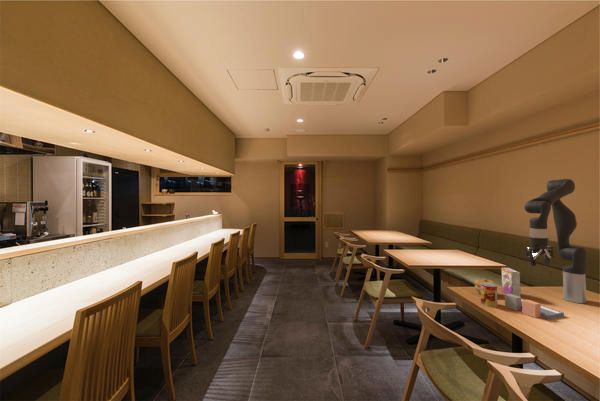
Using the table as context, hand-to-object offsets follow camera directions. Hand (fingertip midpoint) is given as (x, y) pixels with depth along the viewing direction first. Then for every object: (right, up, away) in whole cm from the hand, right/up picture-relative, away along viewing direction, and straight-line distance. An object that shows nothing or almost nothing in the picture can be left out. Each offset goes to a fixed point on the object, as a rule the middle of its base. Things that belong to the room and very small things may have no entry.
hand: (540, 265), depth 136 cm
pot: (-11, -26, +26) cm, 38 cm away
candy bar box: (+4, -26, +24) cm, 35 cm away
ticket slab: (-2, -26, +1) cm, 26 cm away
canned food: (-21, -26, +10) cm, 35 cm away
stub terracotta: (-9, -26, -5) cm, 28 cm away
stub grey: (-12, -26, +4) cm, 29 cm away
